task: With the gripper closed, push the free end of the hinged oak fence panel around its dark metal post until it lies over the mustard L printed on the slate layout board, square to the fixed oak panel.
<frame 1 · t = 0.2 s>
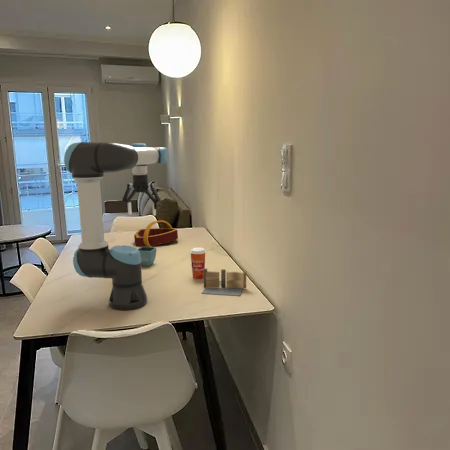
hand: (142, 215, 205), 28 cm above the table, tool pointing down, fingers open, 13 cm apart
fixed fence panel and posts: (223, 287, 178), resting on layout board
flower pot: (146, 265, 214), on the table
layout board: (224, 288, 178), on the table
hinged fence panel: (236, 279, 176), point 4 cm above the table, hinge at 0.0°
decorative basket: (158, 242, 265), on the table
paper cup: (198, 277, 193), on the table
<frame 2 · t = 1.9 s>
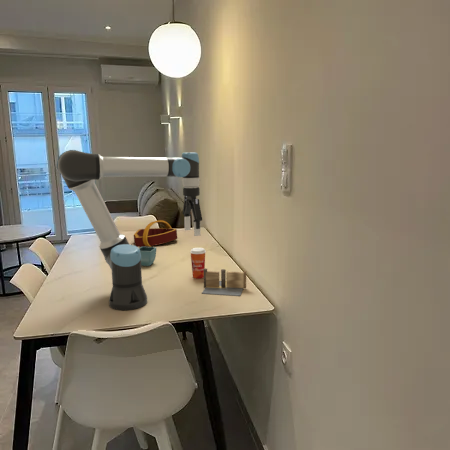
hand: (192, 232, 182), 24 cm above the table, tool pointing down, fingers open, 13 cm apart
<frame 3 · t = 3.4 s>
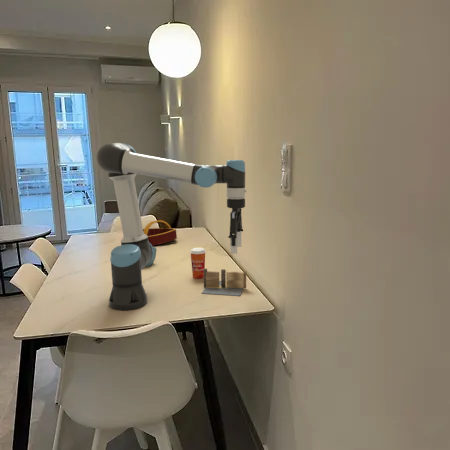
hand: (236, 249, 166), 20 cm above the table, tool pointing down, fingers open, 11 cm apart
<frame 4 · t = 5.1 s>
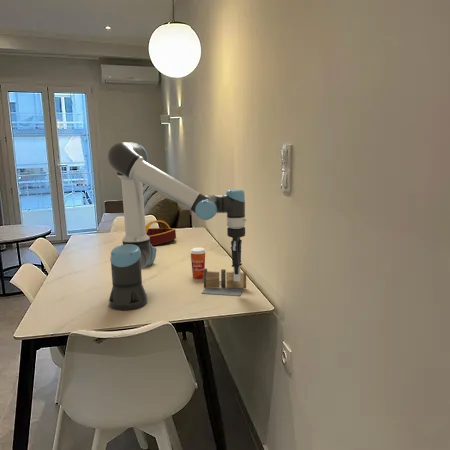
hand: (237, 280, 168), 6 cm above the table, tool pointing down, fingers closed
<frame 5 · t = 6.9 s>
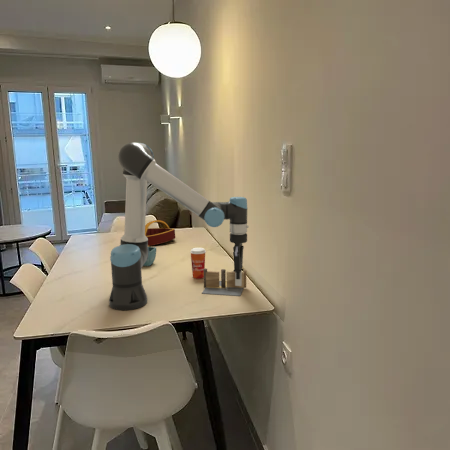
hand: (238, 285, 173), 3 cm above the table, tool pointing down, fingers closed
hinged fence panel: (236, 278, 176), point 4 cm above the table, hinge at 4.3°, touching gripper
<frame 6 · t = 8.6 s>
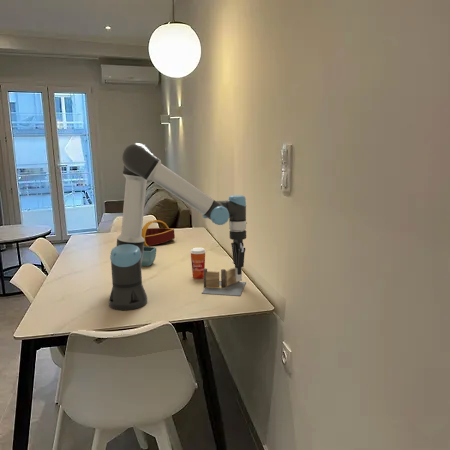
hand: (238, 280, 180), 3 cm above the table, tool pointing down, fingers closed
hinged fence panel: (232, 275, 181), point 5 cm above the table, hinge at 56.7°, touching gripper
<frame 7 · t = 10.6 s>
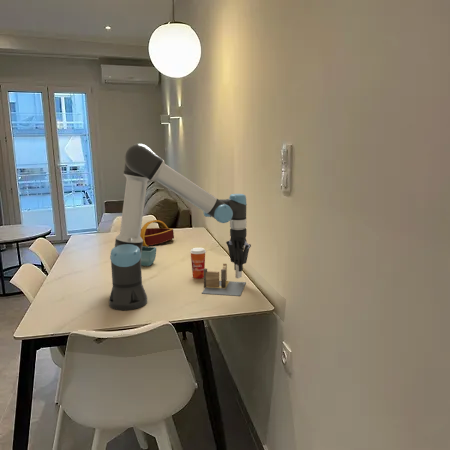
hand: (238, 277, 183), 3 cm above the table, tool pointing down, fingers closed
hinged fence panel: (224, 274, 183), point 5 cm above the table, hinge at 96.8°
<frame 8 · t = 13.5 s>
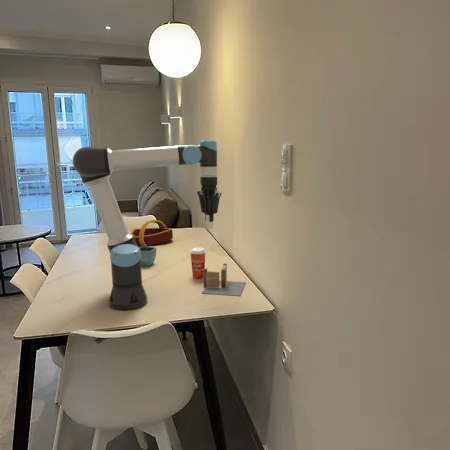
hand: (209, 228, 178), 26 cm above the table, tool pointing down, fingers closed
at the end: hinged fence panel at +97° (first picture: +0°); the gripper is holding nothing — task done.
